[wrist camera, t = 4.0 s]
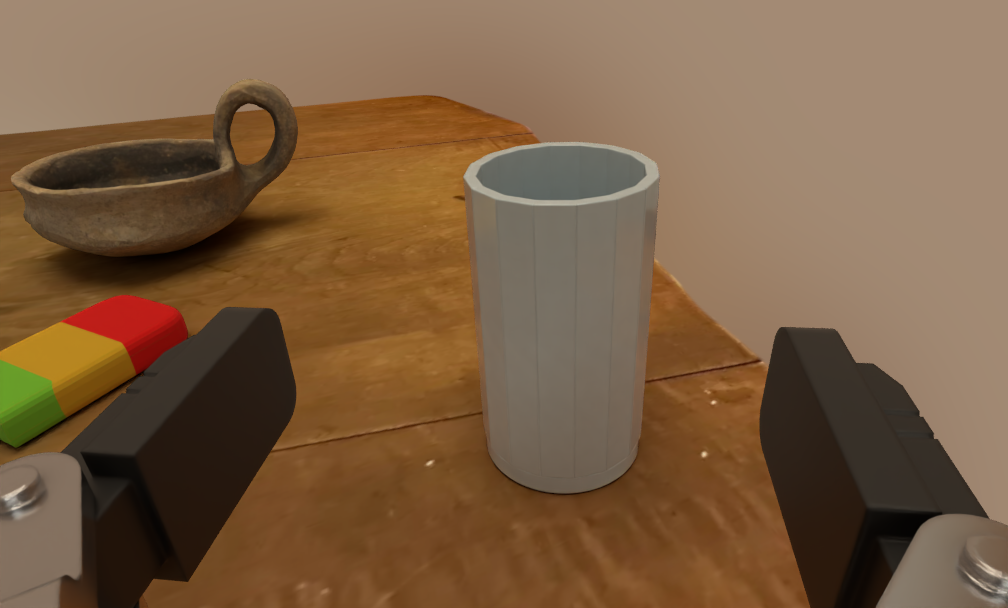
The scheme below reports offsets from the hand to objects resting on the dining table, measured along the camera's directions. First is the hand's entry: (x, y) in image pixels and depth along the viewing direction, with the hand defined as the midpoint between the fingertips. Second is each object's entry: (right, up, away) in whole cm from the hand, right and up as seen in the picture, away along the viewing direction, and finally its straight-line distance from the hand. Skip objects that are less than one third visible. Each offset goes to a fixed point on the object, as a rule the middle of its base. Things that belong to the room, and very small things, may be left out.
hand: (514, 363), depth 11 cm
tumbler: (+2, -4, +15) cm, 16 cm away
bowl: (-22, +5, +35) cm, 42 cm away
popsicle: (-22, -4, +19) cm, 29 cm away
